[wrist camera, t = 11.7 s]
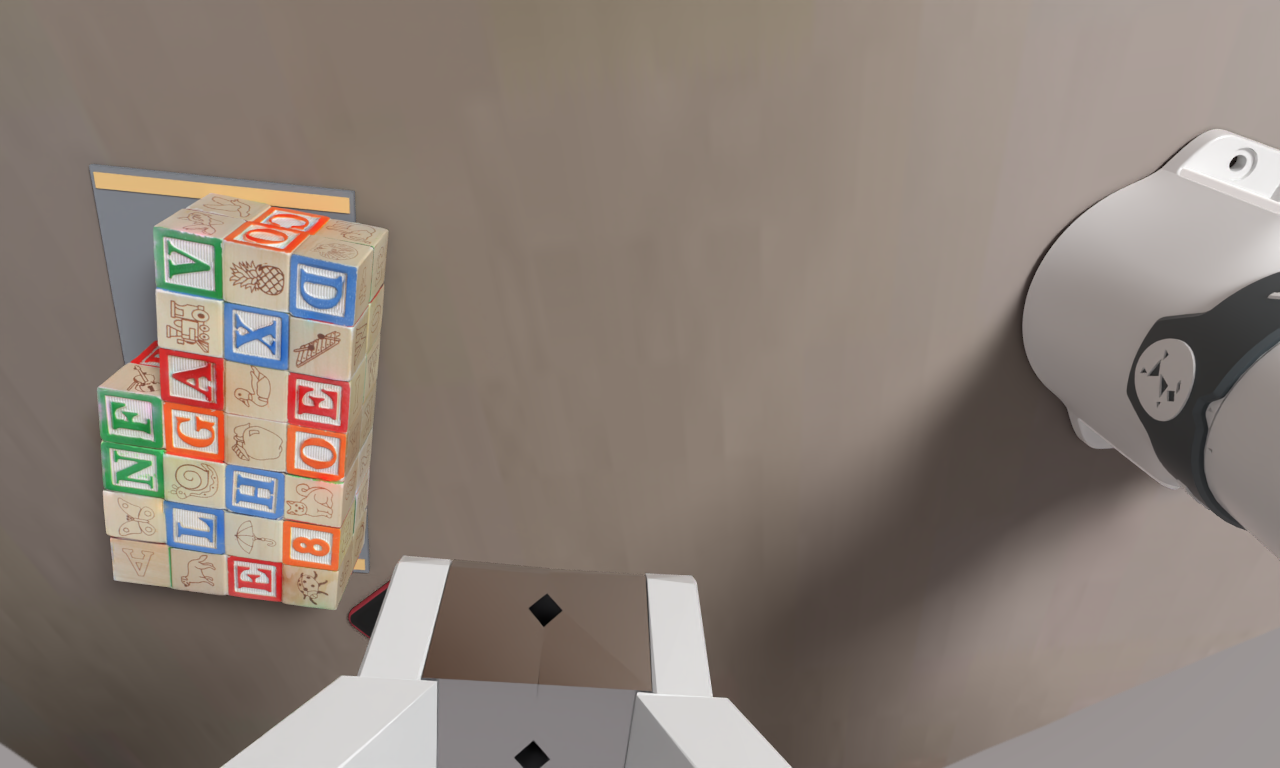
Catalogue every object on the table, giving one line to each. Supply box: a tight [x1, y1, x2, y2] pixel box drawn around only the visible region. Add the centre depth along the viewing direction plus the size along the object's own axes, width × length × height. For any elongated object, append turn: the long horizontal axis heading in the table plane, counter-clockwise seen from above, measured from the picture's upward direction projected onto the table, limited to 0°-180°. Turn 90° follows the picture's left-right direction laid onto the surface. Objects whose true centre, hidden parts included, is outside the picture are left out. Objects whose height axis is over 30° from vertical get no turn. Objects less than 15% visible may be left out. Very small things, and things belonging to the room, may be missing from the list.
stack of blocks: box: [97, 193, 389, 610], centre depth 46 cm, size 21×6×12 cm
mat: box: [89, 164, 370, 573], centre depth 49 cm, size 13×25×1 cm, turn 174°
